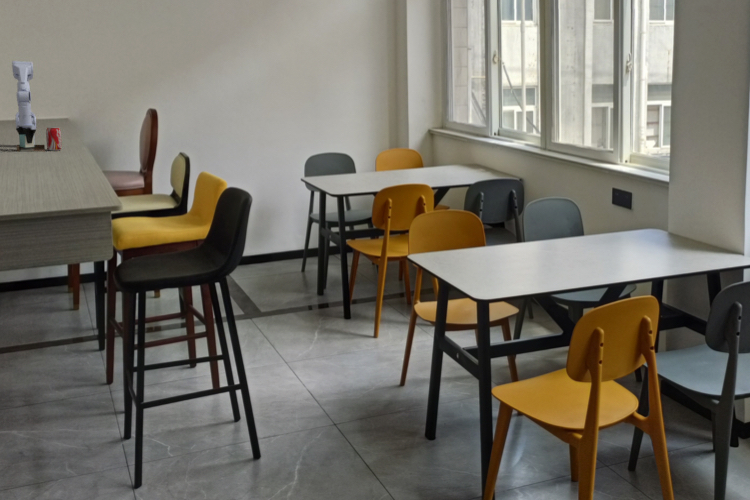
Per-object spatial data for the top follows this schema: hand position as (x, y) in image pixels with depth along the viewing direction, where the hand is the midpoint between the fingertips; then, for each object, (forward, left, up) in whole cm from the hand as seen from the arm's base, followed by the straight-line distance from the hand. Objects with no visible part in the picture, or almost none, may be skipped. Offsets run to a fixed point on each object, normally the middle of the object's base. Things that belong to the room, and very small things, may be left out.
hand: (26, 142), depth 387 cm
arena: (-1, +2, -4) cm, 4 cm away
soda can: (-1, +13, -4) cm, 13 cm away
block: (0, 0, -2) cm, 2 cm away
